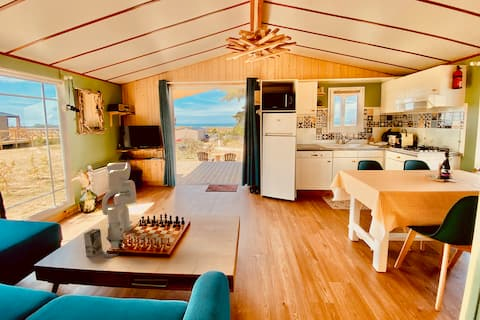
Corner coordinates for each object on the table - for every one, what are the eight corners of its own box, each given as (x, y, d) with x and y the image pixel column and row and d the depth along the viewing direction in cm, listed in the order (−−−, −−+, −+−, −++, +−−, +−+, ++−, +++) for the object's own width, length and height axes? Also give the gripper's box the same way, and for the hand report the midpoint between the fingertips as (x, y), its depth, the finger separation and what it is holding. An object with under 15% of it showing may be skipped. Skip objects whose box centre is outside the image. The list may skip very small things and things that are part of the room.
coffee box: (94, 256, 188) (91, 234, 185) (85, 256, 189) (83, 233, 187) (103, 250, 196) (100, 229, 194) (95, 249, 198) (92, 228, 195)
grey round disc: (109, 251, 194) (109, 251, 194) (121, 252, 192) (120, 251, 192) (101, 258, 185) (101, 257, 185) (113, 258, 184) (113, 257, 183)
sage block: (115, 246, 201) (115, 239, 201) (122, 247, 201) (121, 239, 200) (111, 250, 197) (110, 242, 196) (118, 250, 196) (117, 242, 195)
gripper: (128, 222, 199) (130, 246, 201) (106, 222, 201) (109, 245, 204) (122, 226, 191) (125, 250, 194) (100, 225, 194) (102, 250, 196)
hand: (116, 247), depth 199 cm, fingers closed on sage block, 5 cm apart
